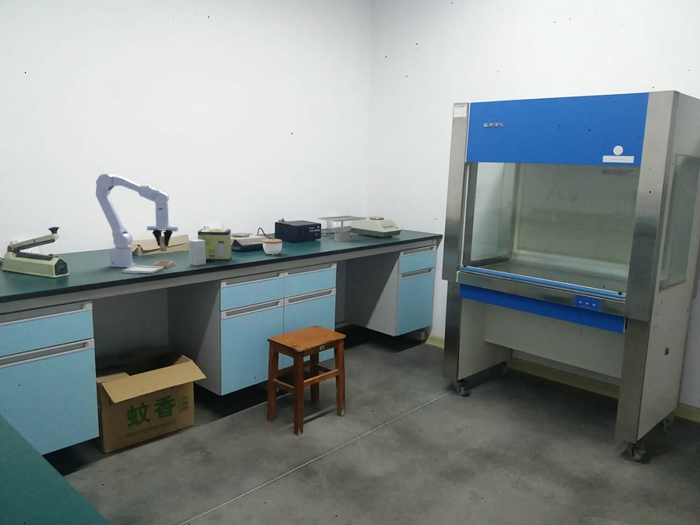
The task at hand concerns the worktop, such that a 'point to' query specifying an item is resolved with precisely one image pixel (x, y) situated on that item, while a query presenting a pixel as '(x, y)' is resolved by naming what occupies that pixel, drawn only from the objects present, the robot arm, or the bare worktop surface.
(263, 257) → the worktop surface
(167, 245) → the robot arm
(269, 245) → the lidded jar
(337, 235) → the solar panel model
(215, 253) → the protein box
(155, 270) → the tray
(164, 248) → the dowel pin
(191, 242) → the skincare box
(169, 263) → the pin cup
